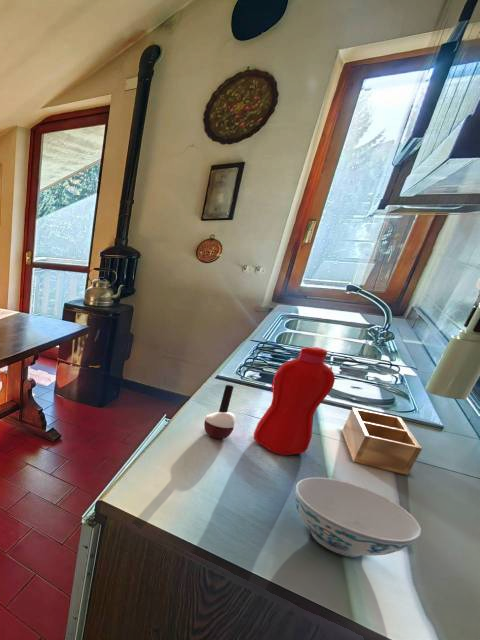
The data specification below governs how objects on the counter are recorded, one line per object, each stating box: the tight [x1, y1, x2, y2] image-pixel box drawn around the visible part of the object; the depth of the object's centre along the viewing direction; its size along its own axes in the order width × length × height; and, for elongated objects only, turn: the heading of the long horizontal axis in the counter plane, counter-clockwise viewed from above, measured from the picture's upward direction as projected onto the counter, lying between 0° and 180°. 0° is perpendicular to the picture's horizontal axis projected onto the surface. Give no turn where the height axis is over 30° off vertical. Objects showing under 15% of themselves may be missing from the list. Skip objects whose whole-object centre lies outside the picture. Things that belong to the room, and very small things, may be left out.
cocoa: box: [203, 384, 236, 440], centre depth 96 cm, size 10×6×12 cm, turn 122°
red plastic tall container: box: [253, 346, 336, 456], centre depth 90 cm, size 9×11×25 cm
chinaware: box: [294, 477, 422, 558], centre depth 65 cm, size 15×15×8 cm
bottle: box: [424, 303, 480, 400], centre depth 79 cm, size 6×6×19 cm
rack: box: [341, 407, 423, 476], centre depth 91 cm, size 9×17×7 cm, turn 145°
